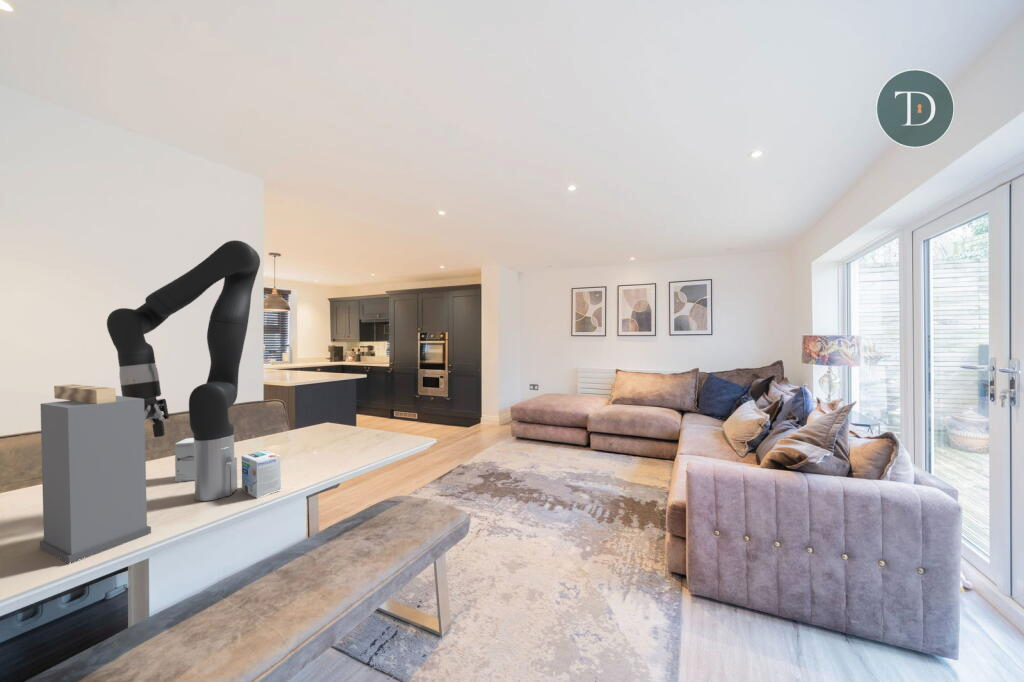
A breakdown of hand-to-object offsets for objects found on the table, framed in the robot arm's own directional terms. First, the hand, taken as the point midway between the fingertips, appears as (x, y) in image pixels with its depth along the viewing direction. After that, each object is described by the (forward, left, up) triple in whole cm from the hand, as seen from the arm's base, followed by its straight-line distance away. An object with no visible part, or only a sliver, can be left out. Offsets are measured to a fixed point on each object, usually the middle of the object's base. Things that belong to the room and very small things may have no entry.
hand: (148, 440), depth 102 cm
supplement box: (-2, -22, -19) cm, 29 cm away
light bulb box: (-26, 0, -19) cm, 32 cm away
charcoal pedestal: (+2, +18, -18) cm, 26 cm away
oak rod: (+6, +14, +14) cm, 20 cm away
